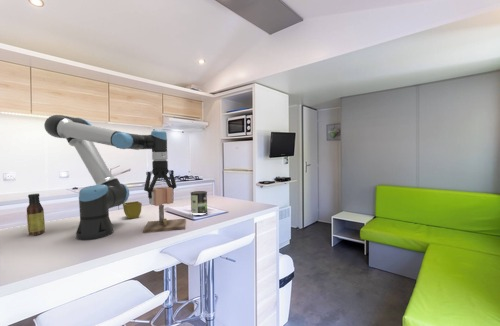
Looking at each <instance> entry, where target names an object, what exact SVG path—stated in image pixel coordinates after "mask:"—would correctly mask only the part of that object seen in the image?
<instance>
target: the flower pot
mask: <svg viewBox="0 0 500 326" xmlns="http://www.w3.org/2000/svg"><path fill="white" fill-rule="evenodd" d="M142 205H143V204H142V202H140V201H129V202H128V201H127V202H125V203H123V204H122V207H123V213H124V215H125V217H126V218H127V219H130V220H131V219H135V218H139V217H140V215H141V213H142V207H143V206H142Z"/></svg>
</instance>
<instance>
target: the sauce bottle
mask: <svg viewBox="0 0 500 326" xmlns="http://www.w3.org/2000/svg"><path fill="white" fill-rule="evenodd" d="M27 197H28V201H29V202H28V206H27V207H26V221H27V222H26V223H27V232H28V236H30V235H34V236H38V235H37V234H39V235H42V234H41V233H43V234H44V233H45V231H46V224H45V212H44V211H45V210H44V207H43V206H42V204H41V201H40V193H30V194H28V195H27Z"/></svg>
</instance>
